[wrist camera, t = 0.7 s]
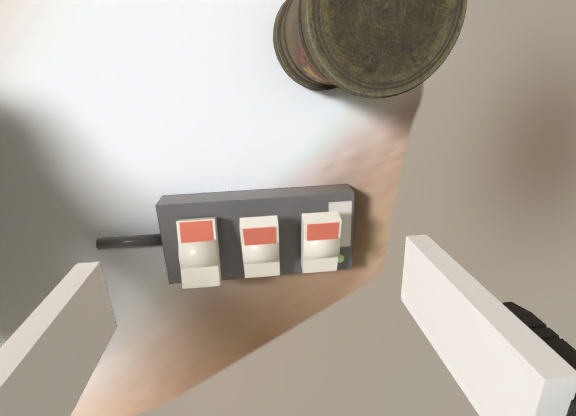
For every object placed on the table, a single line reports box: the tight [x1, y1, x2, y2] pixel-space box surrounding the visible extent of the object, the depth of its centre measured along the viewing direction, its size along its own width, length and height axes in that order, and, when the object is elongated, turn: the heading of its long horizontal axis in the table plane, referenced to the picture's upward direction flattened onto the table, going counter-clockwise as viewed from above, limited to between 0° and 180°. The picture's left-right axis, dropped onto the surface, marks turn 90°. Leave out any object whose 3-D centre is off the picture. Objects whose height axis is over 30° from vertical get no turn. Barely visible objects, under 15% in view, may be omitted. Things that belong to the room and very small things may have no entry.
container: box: [273, 0, 467, 98], centre depth 26 cm, size 9×9×18 cm
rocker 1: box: [176, 217, 221, 289], centre depth 35 cm, size 4×7×3 cm, turn 2°
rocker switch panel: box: [96, 184, 355, 284], centre depth 38 cm, size 27×9×3 cm, turn 92°
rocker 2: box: [240, 215, 280, 278], centre depth 36 cm, size 4×7×3 cm, turn 2°
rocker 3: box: [301, 211, 342, 273], centre depth 36 cm, size 4×7×3 cm, turn 2°
